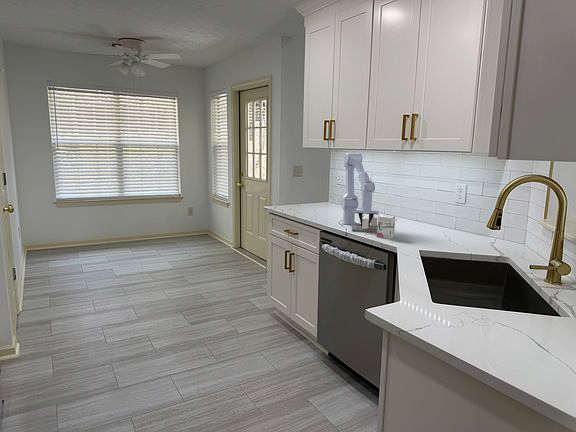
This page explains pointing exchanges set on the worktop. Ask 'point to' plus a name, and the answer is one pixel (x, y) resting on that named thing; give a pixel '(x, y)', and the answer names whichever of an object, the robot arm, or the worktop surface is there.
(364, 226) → the near fader knob
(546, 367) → the worktop surface
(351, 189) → the robot arm
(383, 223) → the ink box
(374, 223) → the far fader knob
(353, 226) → the console
